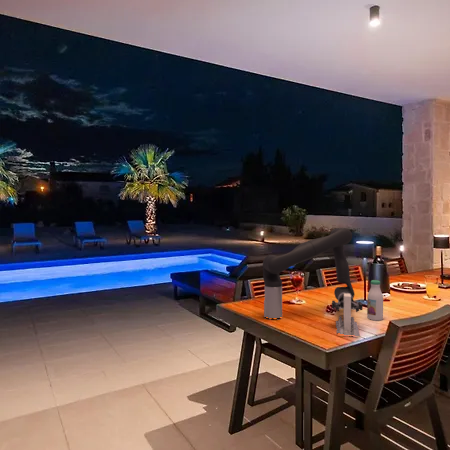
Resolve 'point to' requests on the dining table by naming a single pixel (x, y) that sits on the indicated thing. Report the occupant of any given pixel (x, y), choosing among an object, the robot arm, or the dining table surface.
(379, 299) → the milk bottle
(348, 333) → the door track
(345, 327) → the grey rectangular block
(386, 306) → the dining table surface
